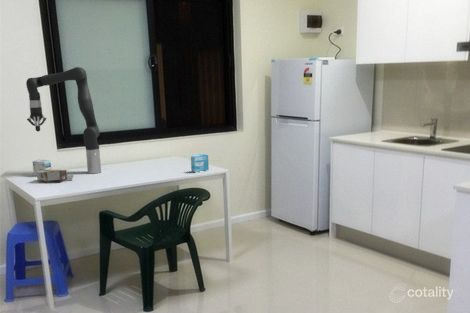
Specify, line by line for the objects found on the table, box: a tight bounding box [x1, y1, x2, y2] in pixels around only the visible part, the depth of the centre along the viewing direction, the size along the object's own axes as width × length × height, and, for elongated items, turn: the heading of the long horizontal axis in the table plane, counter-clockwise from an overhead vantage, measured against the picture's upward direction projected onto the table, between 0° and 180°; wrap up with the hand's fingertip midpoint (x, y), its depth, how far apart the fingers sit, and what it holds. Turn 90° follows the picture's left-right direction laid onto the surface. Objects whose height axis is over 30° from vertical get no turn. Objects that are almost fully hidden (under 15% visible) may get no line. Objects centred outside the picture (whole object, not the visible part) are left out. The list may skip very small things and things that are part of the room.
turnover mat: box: [45, 174, 74, 184], centre depth 296 cm, size 16×16×1 cm
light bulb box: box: [32, 159, 53, 177], centre depth 309 cm, size 11×7×11 cm, turn 74°
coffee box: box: [36, 169, 68, 183], centre depth 290 cm, size 9×6×16 cm
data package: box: [190, 153, 210, 173], centre depth 312 cm, size 12×4×12 cm, turn 126°
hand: (38, 131), depth 308 cm, fingers closed
